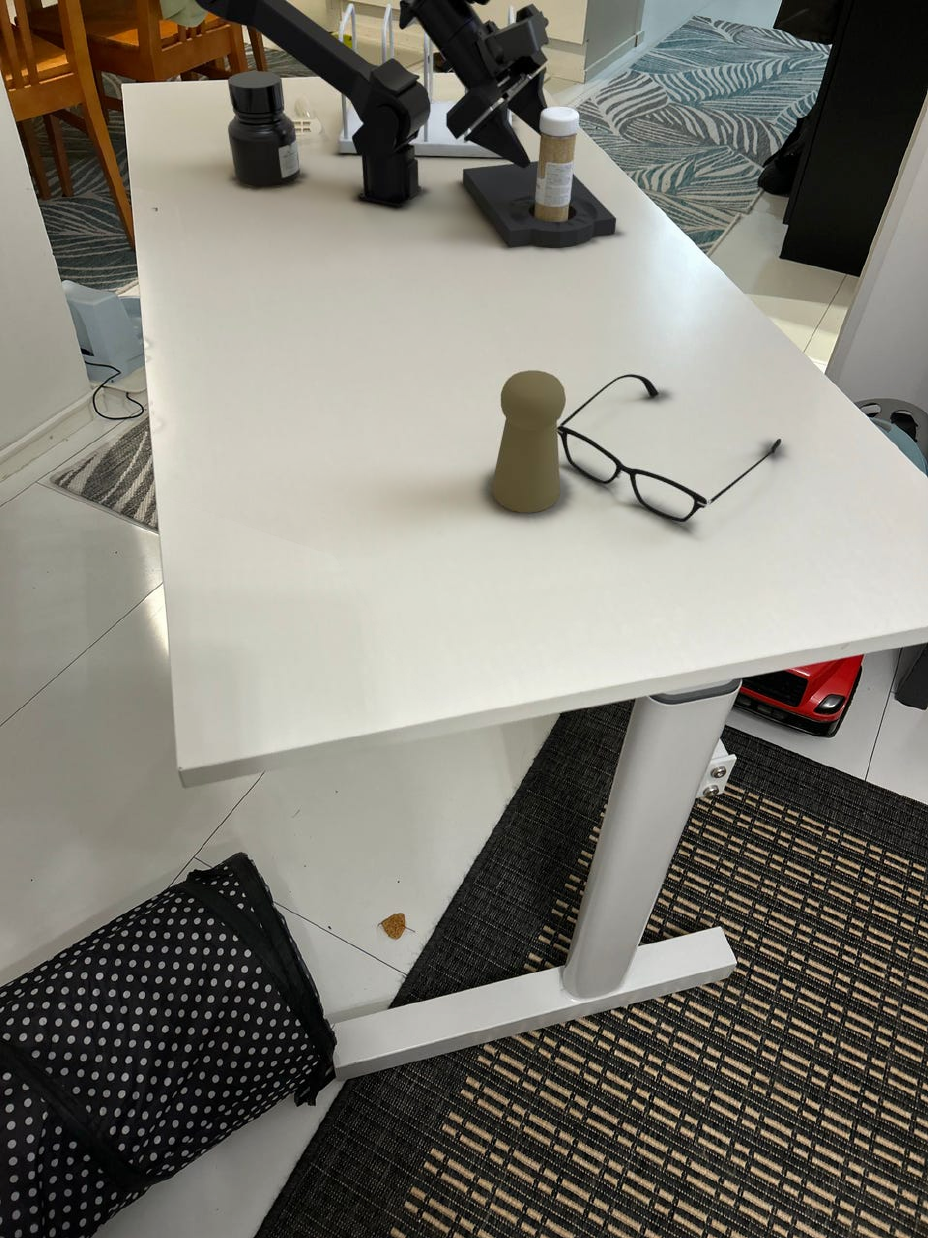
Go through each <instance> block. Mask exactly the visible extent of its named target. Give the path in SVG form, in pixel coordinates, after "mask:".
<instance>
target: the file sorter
mask: <svg viewBox="0 0 928 1238" xmlns="http://www.w3.org/2000/svg"><path fill="white" fill-rule="evenodd" d="M514 13H515V12H514V5H508V14H507V26H509V25H510V24H512V23H515V14H514ZM349 18H350V20H351V21H350V22H351V37H352V38H351V39H352V50H353V51H354V52H355V53H357V54H358V45H357V44H358V43H357V27H356V26H357V25H356V12H355V6H354V4H353V3H348V5H347V7H346V10H345V12H344V14H343V17H342V19H341V23H340V24H339V28H338V36H337V37H338V38H337V39H338V40H339V41H341V42H342V43H343V44H344V32H345V28H346V26H347V23H348V21H349ZM393 26H394V25H393V9H392V3H387V4H386V8H385V11H384V16H383V20H382V26H381V64H383V63H384V62H386V61H388V60H387V27H388V40H389V59H391V58H394V59H395V51H394V50H395V49H394V48H395V47H394V46H395V45H394V27H393ZM423 86H424V87H425V88H426V90H427V92H428V94H429V95H428V96H429V100H430V104H431V112H430V116H429V119H428V120H427V122H426V124H424V125H423V126H422V127H421V128H420V130H419V134H418V137H417V138H416V139H413V140H412V141H411V142H410V143H409V144H410V145H414V148H415V156H435V157H436V156H438V157H442V156H443V157H470V158H472V157H473V158H502V157H501V156H499V155H497V154H495V153H494V152H492V151H490V150H488V149H486V148H483V147H481V146H479V145H477V144H475V143H473V142H471V141H468V142H466V141H465V140H464V138H465V137H466V136H467V135H468V134H469V133H470V132H471V130H470V129H469V128H468V129H469V130H468V131H467V132H466V133H464V134H463V135H462V136H461V137H459V138H458V139H457V140H456V139H455V137H454V136H453V135H452V133H451V132H450V130H449V129H448V128H447V126H446V114H447V112H448V111H449V110H450V109H451V108H452V107H453V106H454V105H455V104H456V103H457V102H458V101H440V100H434V44H433V42H432V41H431V39H430V38H429V36H428V35H427V34H426V32H425V31H424V30H423ZM466 93H467V90H466V89H465V88H464V95H465V94H466ZM340 95H341V110H342V124H343V125H342V129H341V132H340V136H339V138H338V149H339V153H344V154H347V153H348V154H357V152H356V149H355V146H354V144H353V141H352V136H353V135H354V133H355V132H356V131H357V130H358V129H359V128H360V127H361V126H362V125H363V123H362V122H361V120H360V119H359V117H358V115H357V113H356V111H355V109H354V107H353V105H352V103H351V102H350V103H349V106H348V109H347V97H346V96H344V95H343V94H342V93H340ZM502 99H503V98H502ZM507 99H508V101H509V100H510V99H511V98H510V97H508V98H507ZM503 101H504V99H503ZM503 101H502V102H503ZM512 113H513V112H512V111H511V110H509V109H508V115H507V117H508V121H509V123H510V124H511V126H512V127H513V115H512Z"/></svg>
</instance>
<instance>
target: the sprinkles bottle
mask: <svg viewBox="0 0 928 1238" xmlns="http://www.w3.org/2000/svg"><path fill="white" fill-rule="evenodd" d="M579 126H580V114H579V112H578V111H577V110H575V109H573V108H571V107H567V106H550V107H548V108H546V109H544V110H543V111H542V112H541V116H540V130H541V131H540V133H541V136H540V137H539V149H538V151H539V152H538V153H539V154H538V160H537V161H538V170H537V183H536V196H535V199H536V203H535V216H534V218H536V219H538V220H542V221H547V222H561V221H567V218H568V208H569V202H570V196H571V187H572V177H573V174H574V166H575V150H576V141H577V135H578V131H579Z"/></svg>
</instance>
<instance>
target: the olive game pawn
mask: <svg viewBox="0 0 928 1238" xmlns="http://www.w3.org/2000/svg"><path fill="white" fill-rule="evenodd" d="M566 398H567V397H566V392H565V387H564V385H563V384H562V382H561V381H560V380H559V378H557V377H556V376H555V375H553V374H552V373H549V372H547V371H541V370H534V369H533V370H532V369H530V370H529V369H528V370H524V371H523V370H522V371H519V372H517V373H514V374H512V375H511V376H510V377H508V379H507V380H506V381H505V382H504V384H503V386H502V388H501V391H500V407H501V411H502V412H501V413H502V414H503V415H504V418H505V421H504V426H503V429H502V434H501V438H500V439H501V440H500V445H499V448H498V454H497V459H496V463H495V468H494V474H493V478H492V483H491V495H492V497H493V498H494V500H495V502H497V503H498V504H499V505H500V506H501V507H503V508H505V509H508V510H510V511H512V512H517V513H522V514H523V513H525V514H527V513H528V514H530V513H531V514H533V513H538V512H542V511H546V510H548V509H550V508H552V507H553V506H554V505H555V504H556V503H557V502H558V501H559V498H560V497H561V481H560V478H561V477H560V459H559V457H560V456H559V437H558V436H559V434H558V432H557V427H558V420H559V419H560V418H561V416H562V415H563V412H564V410H565V407H566V402H567V399H566Z"/></svg>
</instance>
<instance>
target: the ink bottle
mask: <svg viewBox="0 0 928 1238" xmlns="http://www.w3.org/2000/svg"><path fill="white" fill-rule="evenodd" d="M227 85H228V90H229V98H230V103H231V106H232V113H234V116H233V118H232V119H231V120H230V122H229V123H228V126H227V133H228V134H227V135H228V139H229V145H230V152H231V158H232V164H233V171H234V176H235V178H236V179H237V181H238V182H240V183H241V184H242V185H245V186H247V187H248V186H249V187H254V188H273V187H280V186H284V185H285V186H286V185H288V184H291V183H292V182H295V180H297V179H298V177H300V172H301V169H300V161H299V151H298V150H299V149H298V141H297V134H296V133H297V132H296V126H295V124H294V122H293V120H292V119H291V118H290V117H289V116H288V115H287V114H286V113H284V111H285V96H284V89H283V80H282V78H281V76H280V75H279V74H277V73H275V72H269V71H258V70H257V71H256V70H253V71H244V72H240V73H236V74H234V75H231V76H230V77H229V78H228V80H227Z"/></svg>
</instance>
